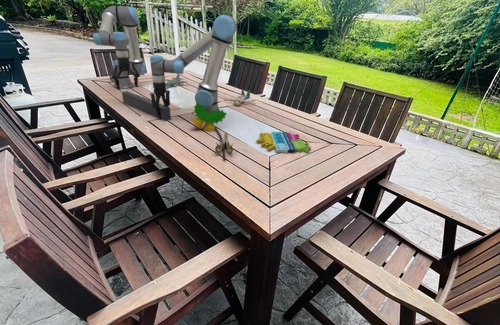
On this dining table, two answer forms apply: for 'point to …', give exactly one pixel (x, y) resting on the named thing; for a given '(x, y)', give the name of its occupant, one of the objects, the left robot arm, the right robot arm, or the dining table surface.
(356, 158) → the dining table surface
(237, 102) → the toy
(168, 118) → the bar
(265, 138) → the sign
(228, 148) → the jawbone
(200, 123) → the ornament
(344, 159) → the dining table surface
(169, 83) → the airplane
